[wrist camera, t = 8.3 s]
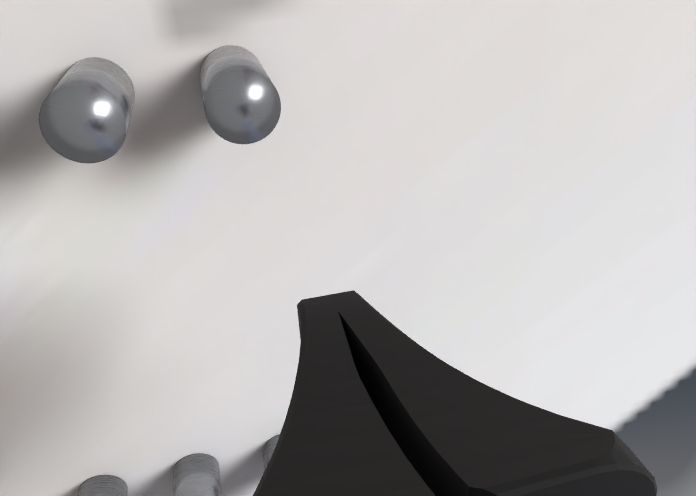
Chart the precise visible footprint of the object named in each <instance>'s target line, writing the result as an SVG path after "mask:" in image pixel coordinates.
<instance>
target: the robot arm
mask: <svg viewBox="0 0 696 496" xmlns="http://www.w3.org/2000/svg"><path fill="white" fill-rule="evenodd" d="M297 309H298V319H299V328H300V338H301V345H300V357H299V364H298V369H297V375H296V380H295V385H294V390H293V394H292V398H291V402H290V405H289V409H288V412H287V416H286V419H285V422H284V425H283V428H282V430H281V433H280V436H279V439H278V442H277V444H276V447H275V449H274V452H273V454H272V457H271V459H270V461H269V463H268V465H267V467H266V470H265V472H264V474H263V476H262V478H261V480H260V483H259V485H258V487H257V489H256V491H255V493H254V494H253V496H656V493H657V487H656V482H655V478H654V477H653V476H652V475H651V473H650V472H649V471H648V470H647V469H646V467H645V466H644V465H643V464H642V463H641V461H640V460H639V459H638V458H637V457H636V455H635V454H634V453H633V452H632V451H631V449H630V448H629V447H628V446H627V445H626V444H625V443H624V442H623V441H622V440H621V439H620V438H619V437H618V436H617V435H616V434H615V433H614V432H613V431H612V430H609V429H606V428H602V427H599V426H595V425H592V424H588V423H585V422H581V421H578V420H574V419H571V418H567V417H564V416H561V415H558V414H555V413H552V412H550V411H547V410H544V409H541V408H538V407H536V406H533V405H530V404H528V403H525V402H523V401H520V400H518V399H515V398H513V397H511V396H509V395H506V394H504V393H502V392H500V391H498V390H495V389H493V388H491V387H489V386H487V385H485V384H483V383H481V382H479V381H477V380H475V379H473V378H471V377H469V376H468V375H466V374H464V373H462V372H461V371H459V370H457V369H455V368H453V367H452V366H450V365H448V364H447V363H445V362H443V361H442V360H440V359H439V358H437V357H436V356H434V355H433V354H431V353H430V352H428V351H427V350H426V349H424V348H423V347H421V346H420V345H419V344H417V343H416V342H415V341H413V340H412V339H411V338H409V337H408V336H407V335H405V334H404V333H403V332H402V331H400V330H399V329H398V328H397V327H395V326H394V325H393V324H392V323H390V322H389V321H388V320H387V319H386V318H385V317H383V316H382V315H381V314H380V313H379V312H378V311H377V310H375V309H374V308H373V307H372V306H371V305H370V304H369V303H368V302H366V301H365V300H364V299H363V298H362V297H361V296H360V295H359V294H358V293H356V292H355V291H348V292H342V293H337V294H331V295H326V296H320V297H315V298H309V299H304V300H301V301H300V302H299V303H298V305H297Z"/></svg>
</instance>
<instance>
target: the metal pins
mask: <svg viewBox="0 0 696 496" xmlns="http://www.w3.org/2000/svg"><path fill="white" fill-rule="evenodd" d="M200 82H201V89H202V96H203V102H204V109H205V114H206V118H207V121H208V123H209V125H210V126H211V128H212V129H213V130H214V131H215V132H216V133H217V134H218V135H219V136H220V137H222V138H223V139H225V140H227V141H229V142H232V143H237V144H250V143H254V142H257V141H260V140H262V139H263V138H265V137H266V136H267V135H269V134H270V133H271V132H272V131H273V129H274V128H275V126H276V124H277V123H278V120H279V117H280V111H281V103H280V98H279V94H278V92H277V90H276V88H275V87H274V85H273V83H272V82H271V80H270V78H269V77H268V75H267V74H266V72H265V70H264V69H263V67H262V65H261V64H260V62H259V61H258V59H257V58H256V57H255V56H254V55H253V54H252V53H251V52H250V51H248V50H246V49H244V48H242V47H239V46H232V45H231V46H223V47H220V48H217V49H215V50H214V51H212V52H211V53H210V54H209V55H208V56H207V57H206V59H205V60H204V62H203V64H202V67H201V71H200ZM134 99H135V92H134V87H133V84H132V81H131V79H130V78H129V76H128V75H127V73H126V72H125V71H124V70H123V69H122V68H121V67H119V66H118V65H117V64H115V63H113V62H111V61H109V60H106V59H102V58H86V59H83V60H80V61H78V62H76V63H75V64H74V65H72V66H71V67H70V69H69V70H68V71H67V72H66V74H65V75H64V76H63V77H62V79H61V80H60V81H59V83H58V84H57V85H56V87H55V88H54V89H53V90H52V92H51V93H50V94H49V96H48V97H47V98H46V99H45V101H44V103H43V104H42V107H41V109H40V114H39V125H40V129H41V132H42V135H43V137H44V138H45V140H46V142H47V143H48V144H49V145H50V146H51V148H52V149H53V150H55V151H56V152H57V153H58V154H60V155H61V156H63V157H65V158H67V159H70V160H72V161H76V162H80V163H96V162H100V161H104V160H106V159H108V158H110V157H111V156H113V155H114V154H115V153H116V152H117V151H118V150H119V149H120V148H121V146H122V144H123V142H124V139H125V136H126V132H127V128H128V124H129V120H130V116H131V112H132V108H133V104H134ZM279 436H280V435H278V436H275V437H274V438H272V439H271V440H269V441H268V442H267V443H266V445H265V446H264V448H263V458H264V464H265V470H266V467H267V465H268V463H269V461H270V459H271V457H272V454H273V452H274V449H275V447H276V444H277V442H278V439H279ZM127 493H128V487H127V484H126V483H125V482H124V481H123V480H122V479H120V478H118V477H115V476H111V475H101V476H96V477H93V478H90V479H88V480H87V481H85V482H84V483H83V484H82V485H81V486H80V488H79V491H78V496H127ZM173 496H222V495H221V482H220V469H219V463H218V461H217V460H216V459H215V458H214V457H213V456H210V455H208V454H193V455H189V456H187V457H184V458H183V459H181V460H180V461H179V462H178V463H177V464H176V465H175V467H174V471H173Z"/></svg>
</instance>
